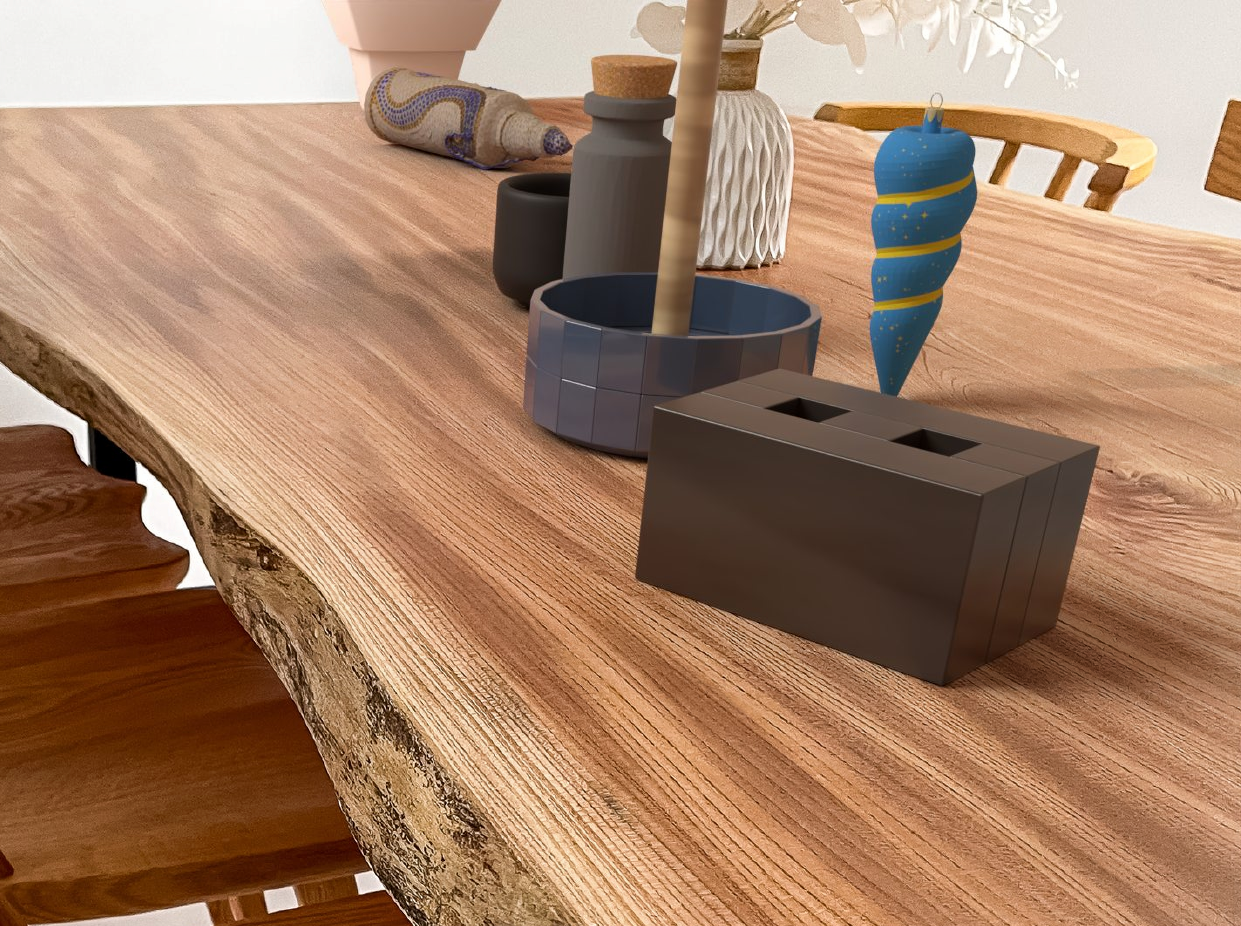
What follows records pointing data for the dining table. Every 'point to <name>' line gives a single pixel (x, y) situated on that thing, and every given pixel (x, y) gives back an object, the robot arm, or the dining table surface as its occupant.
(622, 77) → the bottle
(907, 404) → the utensil block
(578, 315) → the mixing bowl
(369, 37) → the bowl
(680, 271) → the stirring stick
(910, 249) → the ornament
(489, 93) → the decorative bottle
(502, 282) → the mug
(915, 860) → the dining table surface
